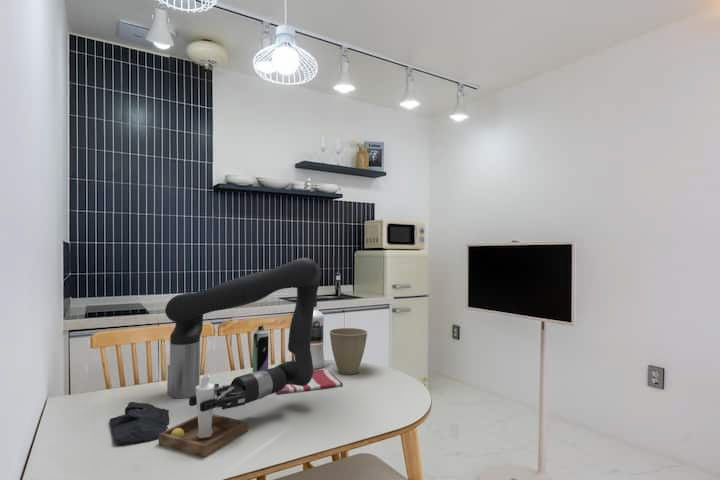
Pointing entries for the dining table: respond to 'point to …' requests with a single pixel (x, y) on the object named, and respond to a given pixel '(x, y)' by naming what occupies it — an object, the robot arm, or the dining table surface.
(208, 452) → the tray
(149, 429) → the dark folded fabric bundle
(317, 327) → the vodka
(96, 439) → the dining table surface
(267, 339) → the spray can
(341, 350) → the plant pot
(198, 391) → the white faceted vase
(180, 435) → the ball
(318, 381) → the dish towel
